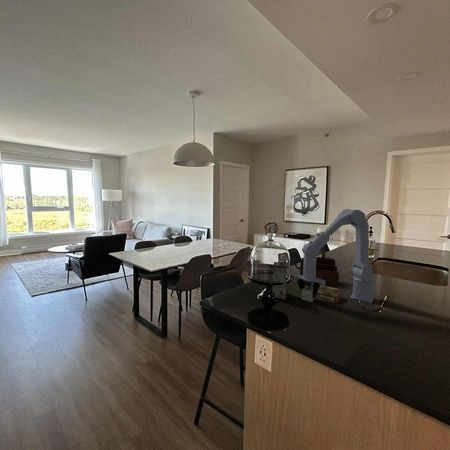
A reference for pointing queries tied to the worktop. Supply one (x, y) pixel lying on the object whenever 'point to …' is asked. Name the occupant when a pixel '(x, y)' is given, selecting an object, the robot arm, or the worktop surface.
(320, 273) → the letter holder
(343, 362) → the worktop surface
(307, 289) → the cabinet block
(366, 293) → the robot arm
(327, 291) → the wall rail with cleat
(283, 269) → the coffee box
